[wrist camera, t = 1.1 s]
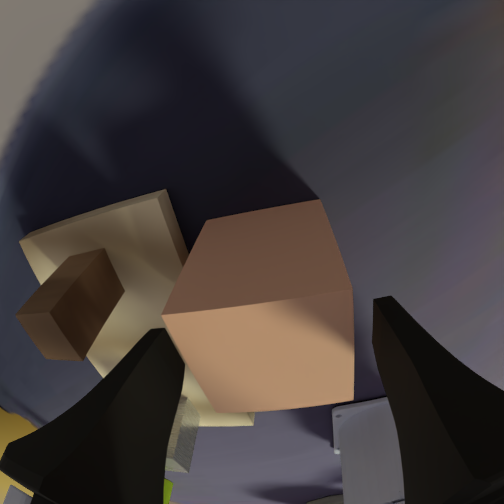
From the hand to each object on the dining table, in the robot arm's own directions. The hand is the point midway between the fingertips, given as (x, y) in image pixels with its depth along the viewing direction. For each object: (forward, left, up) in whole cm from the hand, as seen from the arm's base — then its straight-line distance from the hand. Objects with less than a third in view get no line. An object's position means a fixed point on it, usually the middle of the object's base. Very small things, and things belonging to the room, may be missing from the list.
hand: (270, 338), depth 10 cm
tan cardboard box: (0, 0, -5) cm, 5 cm away
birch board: (-5, +9, -5) cm, 11 cm away
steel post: (-11, +9, -4) cm, 14 cm away
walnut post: (+1, +9, -4) cm, 10 cm away
